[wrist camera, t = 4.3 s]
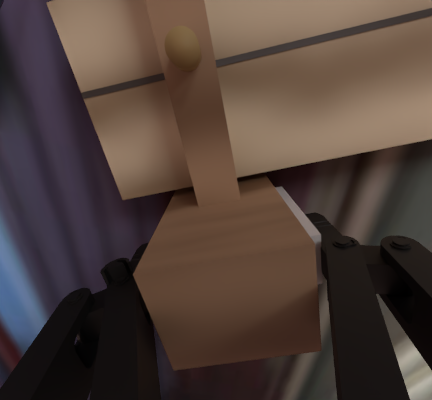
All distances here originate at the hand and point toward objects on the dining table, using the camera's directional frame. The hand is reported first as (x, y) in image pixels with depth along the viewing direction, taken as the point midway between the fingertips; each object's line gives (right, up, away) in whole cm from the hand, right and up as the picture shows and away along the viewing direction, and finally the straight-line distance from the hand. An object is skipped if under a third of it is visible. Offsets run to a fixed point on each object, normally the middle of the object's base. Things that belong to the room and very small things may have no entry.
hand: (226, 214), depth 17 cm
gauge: (-1, +6, -1) cm, 7 cm away
